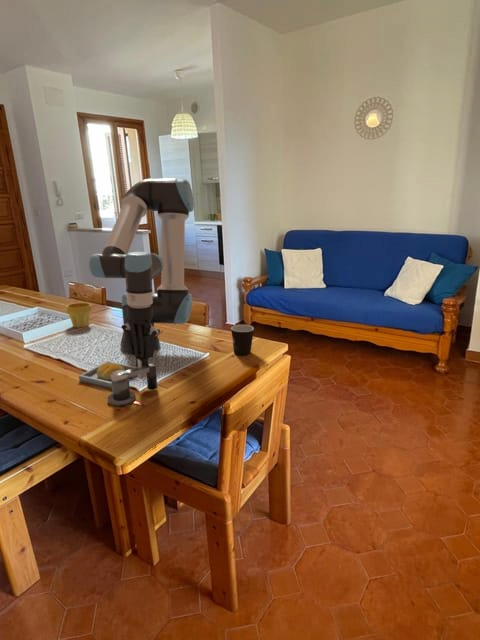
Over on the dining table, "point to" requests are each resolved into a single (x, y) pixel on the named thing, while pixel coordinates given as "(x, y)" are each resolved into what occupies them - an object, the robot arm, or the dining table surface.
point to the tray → (93, 379)
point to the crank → (148, 369)
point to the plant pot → (79, 314)
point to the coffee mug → (242, 339)
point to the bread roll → (108, 370)
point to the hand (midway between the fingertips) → (142, 377)
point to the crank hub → (122, 395)
